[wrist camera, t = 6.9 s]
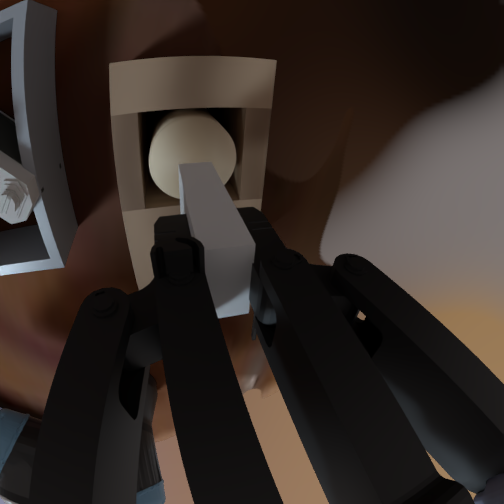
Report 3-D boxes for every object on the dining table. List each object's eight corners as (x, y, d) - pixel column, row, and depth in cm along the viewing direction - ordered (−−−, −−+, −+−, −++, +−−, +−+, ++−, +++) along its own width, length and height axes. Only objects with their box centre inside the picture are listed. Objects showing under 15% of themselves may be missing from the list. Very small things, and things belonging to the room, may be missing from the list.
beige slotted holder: (146, 265, 29) (148, 328, 23) (127, 63, 17) (108, 63, 11) (229, 255, 31) (250, 313, 25) (240, 59, 19) (278, 60, 13)
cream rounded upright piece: (153, 162, 22) (152, 204, 16) (151, 103, 19) (146, 121, 13) (213, 157, 23) (234, 196, 17) (215, 100, 20) (238, 117, 14)
